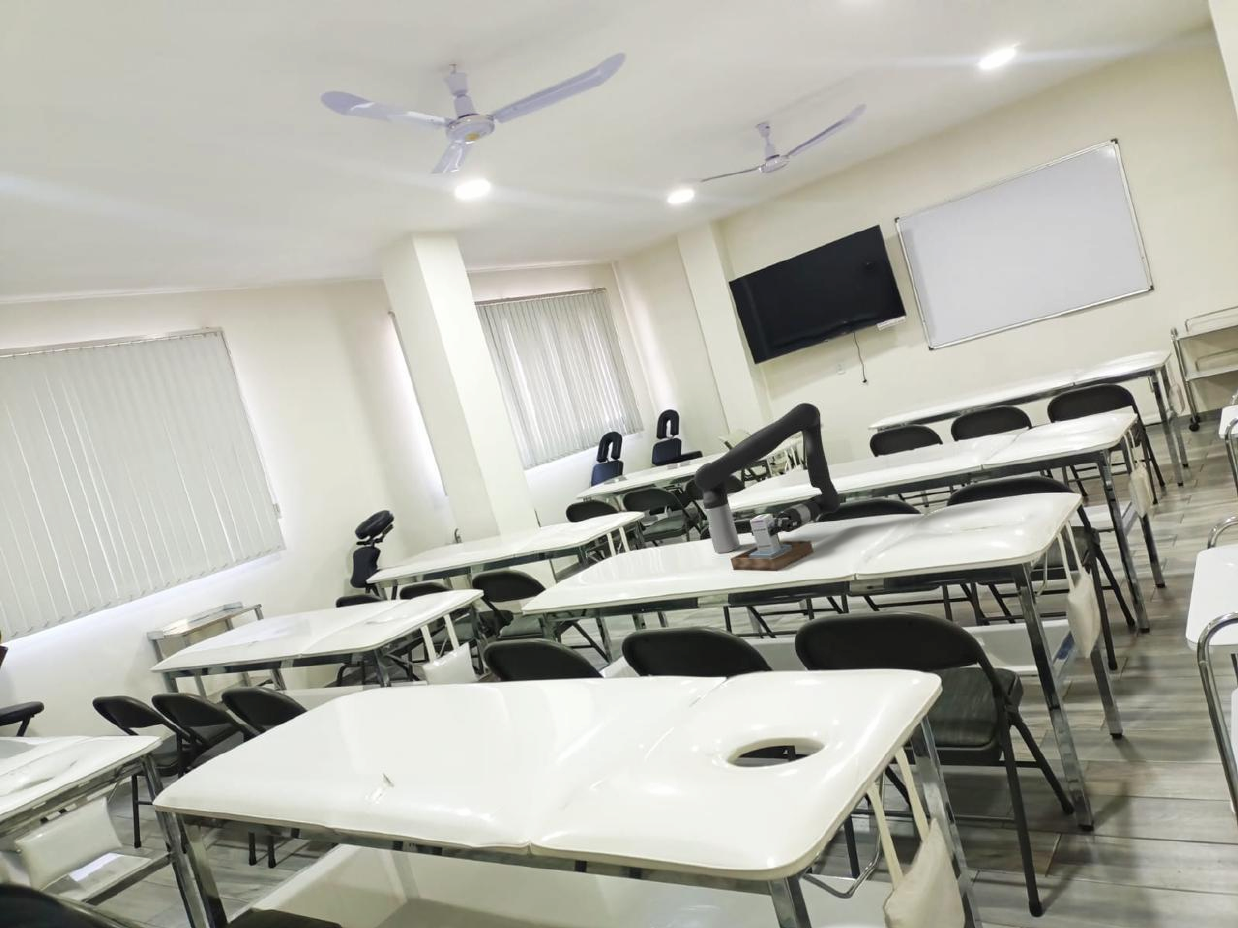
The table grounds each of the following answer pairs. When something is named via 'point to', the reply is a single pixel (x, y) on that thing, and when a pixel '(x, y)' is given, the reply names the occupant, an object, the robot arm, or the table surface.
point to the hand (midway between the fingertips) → (761, 532)
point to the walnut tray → (772, 564)
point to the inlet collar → (772, 555)
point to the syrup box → (765, 534)
